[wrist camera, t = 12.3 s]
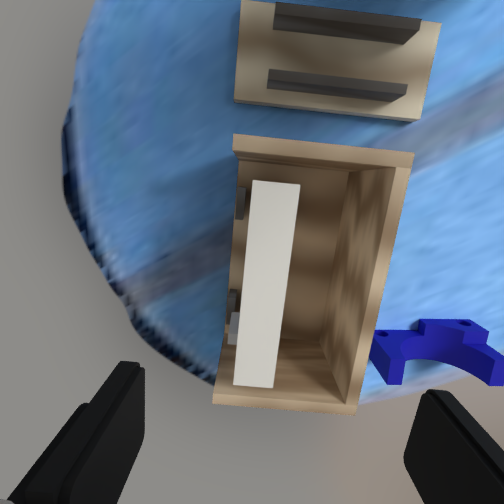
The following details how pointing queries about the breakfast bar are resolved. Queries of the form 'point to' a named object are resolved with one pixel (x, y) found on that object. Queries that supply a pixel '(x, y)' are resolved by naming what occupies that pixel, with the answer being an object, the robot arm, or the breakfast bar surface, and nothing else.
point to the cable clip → (437, 349)
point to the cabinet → (319, 268)
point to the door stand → (333, 60)
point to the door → (264, 282)
